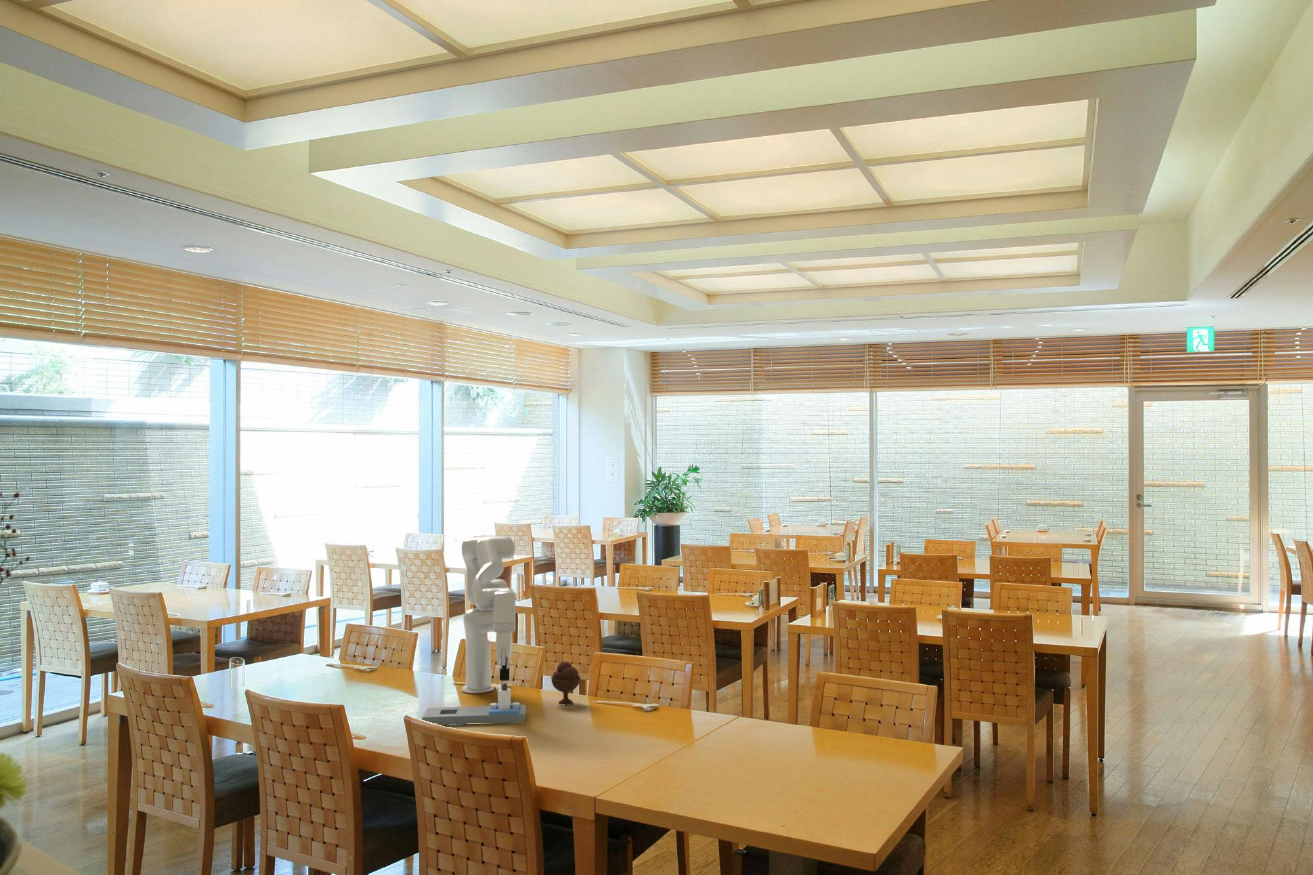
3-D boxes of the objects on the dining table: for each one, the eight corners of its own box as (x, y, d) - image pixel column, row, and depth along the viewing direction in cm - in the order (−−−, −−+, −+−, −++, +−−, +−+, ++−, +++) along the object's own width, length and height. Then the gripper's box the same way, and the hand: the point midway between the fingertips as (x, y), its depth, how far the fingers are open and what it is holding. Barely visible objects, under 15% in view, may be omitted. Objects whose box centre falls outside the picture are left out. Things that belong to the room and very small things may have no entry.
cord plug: (499, 717, 322) (498, 682, 322) (510, 716, 322) (510, 682, 322) (498, 720, 318) (498, 685, 318) (509, 720, 318) (509, 685, 318)
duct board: (427, 716, 323) (427, 701, 323) (525, 713, 326) (525, 698, 327) (422, 726, 311) (422, 710, 311) (524, 722, 314) (524, 707, 315)
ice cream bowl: (545, 705, 337) (545, 663, 338) (562, 698, 347) (562, 657, 347) (569, 708, 332) (569, 666, 333) (586, 701, 342) (586, 660, 342)
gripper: (495, 623, 328) (495, 675, 327) (491, 630, 313) (491, 685, 312) (516, 622, 328) (516, 675, 328) (514, 630, 313) (514, 684, 313)
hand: (504, 680), depth 320 cm, fingers closed
